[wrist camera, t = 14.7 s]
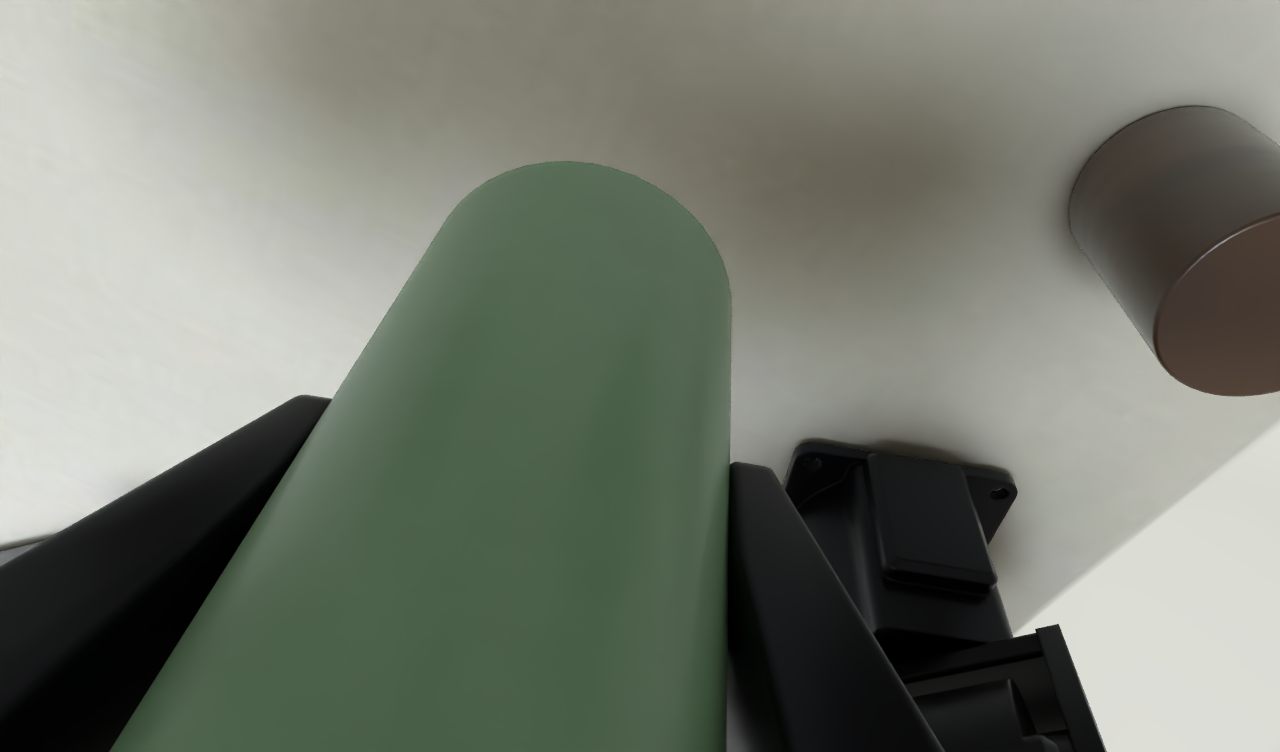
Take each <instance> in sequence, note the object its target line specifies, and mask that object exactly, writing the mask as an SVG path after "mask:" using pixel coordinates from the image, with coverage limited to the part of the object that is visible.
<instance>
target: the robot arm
mask: <svg viewBox="0 0 1280 752" xmlns="http://www.w3.org/2000/svg"><path fill="white" fill-rule="evenodd" d="M331 400H332V399H330V398H324V397H317V396H311V395H300V396H297V397H294V398H292V399H291V400H289V401H287V402H285V403H284V404H282V405H280V406H278V407H277V408H275V409H273V410H271V411H270V412H268V413H266V414H264V415H263V416H261V417H259V418H258V419H256V420H254V421H252V422H251V423H249V424H247V425H245V426H244V427H242V428H240V429H238V430H237V431H235V432H233V433H231V434H230V435H228V436H226V437H224V438H223V439H221V440H219V441H217V442H216V443H214V444H212V445H210V446H209V447H207V448H205V449H203V450H202V451H200V452H198V453H196V454H195V455H193V456H191V457H189V458H188V459H186V460H184V461H183V462H181V463H179V464H177V465H176V466H174V467H172V468H170V469H169V470H167V471H165V472H163V473H162V474H160V475H158V476H156V477H155V478H153V479H151V480H149V481H148V482H146V483H144V484H142V485H141V486H139V487H137V488H135V489H134V490H132V491H130V492H128V493H127V494H125V495H123V496H121V497H120V498H118V499H116V500H114V501H113V502H111V503H109V504H108V505H106V506H104V507H102V508H101V509H99V510H97V511H95V512H94V513H92V514H90V515H88V516H87V517H85V518H83V519H81V520H80V521H78V522H76V523H74V524H73V525H71V526H69V527H67V528H66V529H64V530H62V531H60V532H59V533H57V534H55V535H53V536H52V537H50V538H48V539H46V540H45V541H43V542H41V543H39V544H38V545H36V546H34V547H33V548H31V549H29V550H27V551H26V552H24V553H22V554H20V555H19V556H17V557H15V558H13V559H12V560H10V561H8V562H6V563H5V564H3V565H1V566H0V752H109V751H110V750H111V748H112V746H113V745H114V743H115V742H116V740H117V738H118V737H119V735H120V734H121V732H122V731H123V729H124V727H125V726H126V724H127V723H128V721H129V719H130V718H131V716H132V715H133V713H134V712H135V710H136V708H137V707H138V705H139V704H140V702H141V701H142V699H143V697H144V696H145V694H146V693H147V691H148V689H149V688H150V686H151V685H152V683H153V682H154V680H155V678H156V677H157V675H158V674H159V672H160V671H161V669H162V667H163V666H164V664H165V663H166V661H167V659H168V658H169V656H170V655H171V653H172V652H173V650H174V648H175V647H176V645H177V644H178V642H179V640H180V639H181V637H182V636H183V634H184V633H185V631H186V629H187V628H188V626H189V625H190V623H191V622H192V620H193V618H194V617H195V615H196V614H197V612H198V610H199V609H200V607H201V606H202V604H203V603H204V601H205V599H206V598H207V596H208V595H209V593H210V592H211V590H212V588H213V587H214V585H215V584H216V582H217V580H218V579H219V577H220V576H221V574H222V573H223V571H224V569H225V568H226V566H227V565H228V563H229V562H230V560H231V558H232V557H233V555H234V554H235V552H236V550H237V549H238V547H239V546H240V544H241V543H242V541H243V539H244V538H245V536H246V535H247V533H248V531H249V530H250V528H251V527H252V525H253V524H254V522H255V520H256V519H257V517H258V516H259V514H260V513H261V511H262V509H263V508H264V506H265V505H266V503H267V501H268V500H269V498H270V497H271V495H272V494H273V492H274V490H275V489H276V487H277V486H278V484H279V483H280V481H281V479H282V478H283V476H284V475H285V473H286V471H287V470H288V468H289V467H290V465H291V464H292V462H293V460H294V459H295V457H296V456H297V454H298V452H299V451H300V449H301V448H302V446H303V445H304V443H305V441H306V440H307V438H308V437H309V435H310V434H311V432H312V430H313V429H314V427H315V426H316V424H317V422H318V421H319V419H320V418H321V416H322V415H323V413H324V411H325V410H326V408H327V407H328V405H329V404H330V402H331ZM807 458H816V460H814V461H807V460H805V459H807ZM996 488H1002V489H1000V490H997V491H993V490H994V489H996ZM1017 493H1018V492H1017V488H1016V486H1015V483H1014V480H1013V478H1012V477H1011V476H1010V475H1009V474H1006V473H1003V472H998V471H992V470H986V469H979V468H973V467H967V466H961V465H954V464H948V463H942V462H936V461H929V460H923V459H917V458H911V457H904V456H898V455H892V454H886V453H880V452H873V451H867V450H861V449H855V448H848V447H842V446H836V445H830V444H823V443H817V442H807V443H803V444H801V445H799V446H798V447H797V448H796V449H795V451H794V453H793V456H792V459H791V462H790V465H789V468H788V471H787V474H786V477H785V480H784V483H783V486H782V485H781V483H780V482H779V480H778V478H777V477H776V475H775V474H774V472H773V471H772V470H771V469H770V468H769V467H766V466H761V465H755V464H749V463H742V462H734V463H732V464H731V465H730V470H729V549H728V655H727V737H726V752H1107V751H1106V748H1105V746H1104V743H1103V740H1102V738H1101V735H1100V732H1099V730H1098V727H1097V724H1096V721H1095V719H1094V716H1093V714H1092V711H1091V708H1090V706H1089V703H1088V700H1087V698H1086V695H1085V692H1084V690H1083V687H1082V685H1081V682H1080V679H1079V677H1078V674H1077V671H1076V669H1075V666H1074V663H1073V661H1072V658H1071V656H1070V653H1069V650H1068V648H1067V645H1066V642H1065V640H1064V637H1063V635H1062V632H1061V629H1060V627H1059V624H1057V625H1052V626H1047V627H1043V628H1038V629H1035V630H1036V633H1033V634H1029V635H1024V636H1019V637H1014V638H1013V635H1012V632H1011V629H1010V625H1009V622H1008V619H1007V616H1006V613H1005V609H1004V606H1003V603H1002V600H1001V597H1000V593H999V590H998V587H997V584H996V583H997V581H998V577H997V573H996V570H995V567H994V564H993V561H992V558H991V555H990V551H989V548H988V545H989V543H990V541H991V540H992V538H993V536H994V534H995V533H996V531H997V529H998V527H999V526H1000V524H1001V522H1002V521H1003V519H1004V517H1005V515H1006V514H1007V512H1008V510H1009V509H1010V507H1011V505H1012V503H1013V502H1014V500H1015V498H1016V496H1017Z"/></svg>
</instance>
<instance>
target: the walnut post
mask: <svg viewBox="0 0 1280 752" xmlns="http://www.w3.org/2000/svg"><path fill="white" fill-rule="evenodd" d="M1069 222H1070V227H1071V231H1072V234H1073V236H1074V239H1075V241H1076V242H1077V244H1078V245H1079V247H1080V248H1081V250H1082V251H1083V253H1084V254H1085V256H1086V257H1087V258H1088V260H1089V261H1090V263H1091V264H1092V266H1093V267H1094V269H1095V270H1096V271H1097V273H1098V274H1099V276H1100V277H1101V279H1102V280H1103V282H1104V283H1105V284H1106V286H1107V287H1108V289H1109V290H1110V292H1111V293H1112V295H1113V296H1114V297H1115V299H1116V300H1117V302H1118V303H1119V305H1120V306H1121V307H1122V309H1123V310H1124V312H1125V313H1126V315H1127V316H1128V318H1129V319H1130V320H1131V322H1132V323H1133V325H1134V326H1135V328H1136V329H1137V331H1138V332H1139V333H1140V335H1141V336H1142V338H1143V339H1144V341H1145V342H1146V344H1147V345H1148V346H1149V348H1150V349H1151V351H1152V352H1153V354H1154V355H1155V356H1156V358H1157V359H1158V361H1159V362H1160V364H1161V365H1162V367H1163V368H1164V369H1165V370H1166V371H1167V372H1168V373H1169V374H1170V375H1171V376H1172V377H1174V378H1175V379H1176V380H1178V381H1179V382H1181V383H1183V384H1185V385H1186V386H1188V387H1191V388H1193V389H1196V390H1199V391H1202V392H1205V393H1210V394H1214V395H1222V396H1253V395H1262V394H1267V393H1273V392H1277V391H1280V146H1279V145H1277V144H1276V143H1275V142H1273V141H1272V140H1270V139H1269V138H1268V137H1266V136H1265V135H1264V134H1262V133H1261V132H1259V131H1258V130H1257V129H1255V128H1254V127H1252V126H1251V125H1250V124H1248V123H1247V122H1246V121H1244V120H1243V119H1241V118H1239V117H1238V116H1236V115H1234V114H1232V113H1229V112H1227V111H1225V110H1220V109H1216V108H1211V107H1200V106H1199V107H1183V108H1176V109H1171V110H1167V111H1163V112H1159V113H1156V114H1154V115H1151V116H1148V117H1145V118H1143V119H1141V120H1139V121H1137V122H1135V123H1133V124H1131V125H1130V126H1128V127H1127V128H1125V129H1123V130H1122V131H1120V132H1119V133H1118V134H1116V135H1115V136H1114V137H1112V138H1111V139H1110V140H1108V141H1107V142H1106V143H1105V144H1104V145H1103V146H1102V147H1101V148H1100V149H1099V150H1098V151H1097V152H1096V153H1095V154H1094V155H1093V157H1092V158H1091V159H1090V160H1089V162H1088V163H1087V164H1086V166H1085V167H1084V169H1083V170H1082V172H1081V174H1080V176H1079V178H1078V179H1077V182H1076V184H1075V187H1074V189H1073V193H1072V196H1071V200H1070V207H1069Z"/></svg>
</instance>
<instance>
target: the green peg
mask: <svg viewBox="0 0 1280 752" xmlns="http://www.w3.org/2000/svg"><path fill="white" fill-rule="evenodd" d="M731 328H732V296H731V290H730V284H729V278H728V275H727V272H726V269H725V266H724V263H723V260H722V258H721V256H720V254H719V252H718V250H717V248H716V246H715V244H714V242H713V241H712V239H711V238H710V236H709V235H708V233H707V232H706V230H705V229H704V227H703V226H702V225H701V224H700V223H699V222H698V221H697V219H696V218H695V217H694V216H693V215H692V214H691V213H690V212H689V211H688V210H687V209H686V208H685V207H684V206H682V205H681V204H680V203H679V202H678V201H677V200H675V199H674V198H673V197H672V196H670V195H669V194H667V193H666V192H664V191H663V190H661V189H660V188H658V187H657V186H655V185H653V184H651V183H649V182H647V181H645V180H643V179H641V178H639V177H637V176H635V175H632V174H630V173H627V172H624V171H621V170H618V169H615V168H612V167H607V166H602V165H598V164H593V163H584V162H573V161H562V162H545V163H539V164H533V165H527V166H523V167H520V168H517V169H514V170H510V171H507V172H505V173H503V174H501V175H499V176H496V177H494V178H492V179H490V180H488V181H487V182H485V183H484V184H482V185H481V186H479V187H478V188H476V189H475V190H473V191H472V192H471V193H470V194H468V195H467V196H466V197H465V198H464V199H463V200H462V201H461V202H460V203H459V204H458V205H457V206H456V207H455V208H454V210H453V211H452V212H451V213H450V215H449V216H448V217H447V219H446V220H445V222H444V223H443V225H442V227H441V228H440V230H439V231H438V233H437V234H436V236H435V238H434V239H433V241H432V242H431V244H430V246H429V247H428V249H427V250H426V252H425V253H424V255H423V257H422V258H421V260H420V261H419V263H418V264H417V266H416V268H415V269H414V271H413V272H412V274H411V276H410V277H409V279H408V280H407V282H406V283H405V285H404V287H403V288H402V290H401V291H400V293H399V294H398V296H397V298H396V299H395V301H394V302H393V304H392V306H391V307H390V309H389V310H388V312H387V313H386V315H385V317H384V318H383V320H382V321H381V323H380V325H379V326H378V328H377V329H376V331H375V332H374V334H373V336H372V337H371V339H370V340H369V342H368V343H367V345H366V347H365V348H364V350H363V351H362V353H361V355H360V356H359V358H358V359H357V361H356V362H355V364H354V366H353V367H352V369H351V370H350V372H349V373H348V375H347V377H346V378H345V380H344V381H343V383H342V385H341V386H340V388H339V389H338V391H337V392H336V394H335V396H334V397H333V399H332V400H331V402H330V404H329V405H328V407H327V408H326V410H325V411H324V413H323V415H322V416H321V418H320V419H319V421H318V422H317V424H316V426H315V427H314V429H313V430H312V432H311V434H310V435H309V437H308V438H307V440H306V441H305V443H304V445H303V446H302V448H301V449H300V451H299V452H298V454H297V456H296V457H295V459H294V460H293V462H292V464H291V465H290V467H289V468H288V470H287V471H286V473H285V475H284V476H283V478H282V479H281V481H280V483H279V484H278V486H277V487H276V489H275V490H274V492H273V494H272V495H271V497H270V498H269V500H268V501H267V503H266V505H265V506H264V508H263V509H262V511H261V513H260V514H259V516H258V517H257V519H256V520H255V522H254V524H253V525H252V527H251V528H250V530H249V531H248V533H247V535H246V536H245V538H244V539H243V541H242V543H241V544H240V546H239V547H238V549H237V550H236V552H235V554H234V555H233V557H232V558H231V560H230V562H229V563H228V565H227V566H226V568H225V569H224V571H223V573H222V574H221V576H220V577H219V579H218V580H217V582H216V584H215V585H214V587H213V588H212V590H211V592H210V593H209V595H208V596H207V598H206V599H205V601H204V603H203V604H202V606H201V607H200V609H199V610H198V612H197V614H196V615H195V617H194V618H193V620H192V622H191V623H190V625H189V626H188V628H187V629H186V631H185V633H184V634H183V636H182V637H181V639H180V640H179V642H178V644H177V645H176V647H175V648H174V650H173V652H172V653H171V655H170V656H169V658H168V659H167V661H166V663H165V664H164V666H163V667H162V669H161V671H160V672H159V674H158V675H157V677H156V678H155V680H154V682H153V683H152V685H151V686H150V688H149V689H148V691H147V693H146V694H145V696H144V697H143V699H142V701H141V702H140V704H139V705H138V707H137V708H136V710H135V712H134V713H133V715H132V716H131V718H130V719H129V721H128V723H127V724H126V726H125V727H124V729H123V731H122V732H121V734H120V735H119V737H118V738H117V740H116V742H115V743H114V745H113V746H112V748H111V750H110V751H109V752H726V737H727V655H728V549H729V470H730V410H731Z"/></svg>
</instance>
